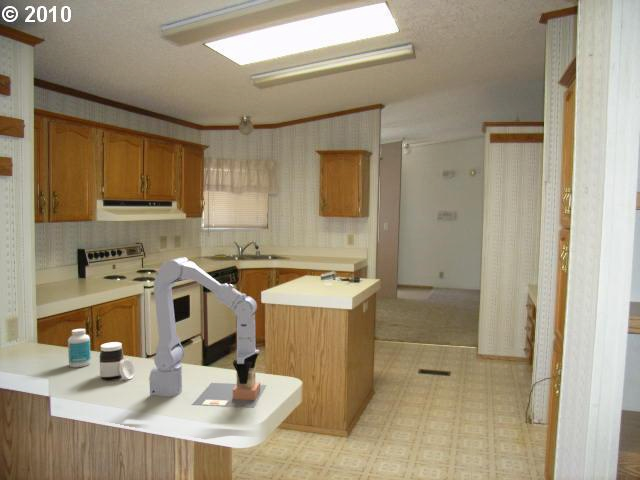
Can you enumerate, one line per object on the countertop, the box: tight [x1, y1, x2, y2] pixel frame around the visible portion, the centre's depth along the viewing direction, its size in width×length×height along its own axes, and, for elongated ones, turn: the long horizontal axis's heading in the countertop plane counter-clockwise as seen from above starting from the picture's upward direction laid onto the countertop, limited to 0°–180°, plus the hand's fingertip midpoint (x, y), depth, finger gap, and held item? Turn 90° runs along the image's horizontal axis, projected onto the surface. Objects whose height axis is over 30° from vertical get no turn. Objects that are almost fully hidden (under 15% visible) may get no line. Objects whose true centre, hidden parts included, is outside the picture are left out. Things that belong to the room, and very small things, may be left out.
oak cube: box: [236, 367, 256, 389], centre depth 152 cm, size 5×5×5 cm
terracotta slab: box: [233, 381, 261, 400], centre depth 152 cm, size 7×7×3 cm
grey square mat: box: [191, 382, 268, 409], centre depth 153 cm, size 19×18×1 cm
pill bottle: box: [67, 328, 92, 368], centre depth 183 cm, size 8×7×14 cm
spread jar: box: [99, 341, 135, 382], centre depth 170 cm, size 12×11×12 cm
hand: (246, 378), depth 152 cm, fingers open, 7 cm apart
